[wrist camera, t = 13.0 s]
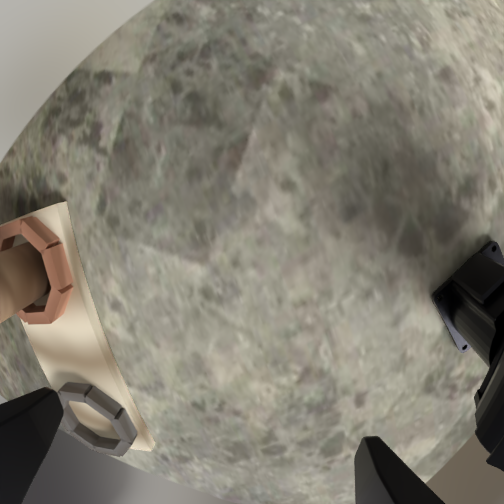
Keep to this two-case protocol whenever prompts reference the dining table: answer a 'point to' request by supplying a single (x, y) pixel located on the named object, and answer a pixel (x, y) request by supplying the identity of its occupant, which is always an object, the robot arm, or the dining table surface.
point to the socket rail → (75, 339)
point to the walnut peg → (21, 279)
